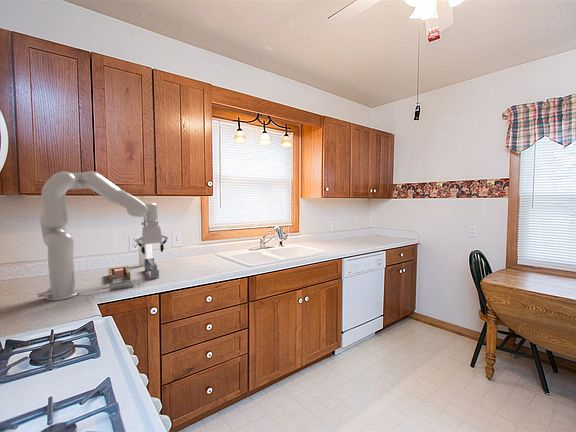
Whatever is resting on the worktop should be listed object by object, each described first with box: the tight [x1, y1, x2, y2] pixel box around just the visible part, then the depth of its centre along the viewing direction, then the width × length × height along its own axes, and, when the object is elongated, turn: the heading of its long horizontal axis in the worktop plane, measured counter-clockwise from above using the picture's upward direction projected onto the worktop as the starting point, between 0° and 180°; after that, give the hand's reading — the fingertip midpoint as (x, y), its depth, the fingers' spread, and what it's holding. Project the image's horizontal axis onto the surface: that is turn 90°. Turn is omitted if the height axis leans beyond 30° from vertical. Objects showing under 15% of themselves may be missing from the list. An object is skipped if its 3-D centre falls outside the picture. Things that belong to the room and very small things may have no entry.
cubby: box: [107, 266, 134, 292], centre depth 160 cm, size 30×10×5 cm, turn 34°
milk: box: [137, 240, 154, 268], centre depth 194 cm, size 6×6×22 cm
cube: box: [114, 268, 124, 279], centre depth 166 cm, size 4×4×4 cm
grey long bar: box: [144, 257, 160, 280], centre depth 172 cm, size 22×5×8 cm, turn 34°
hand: (152, 252), depth 169 cm, fingers open, 9 cm apart
